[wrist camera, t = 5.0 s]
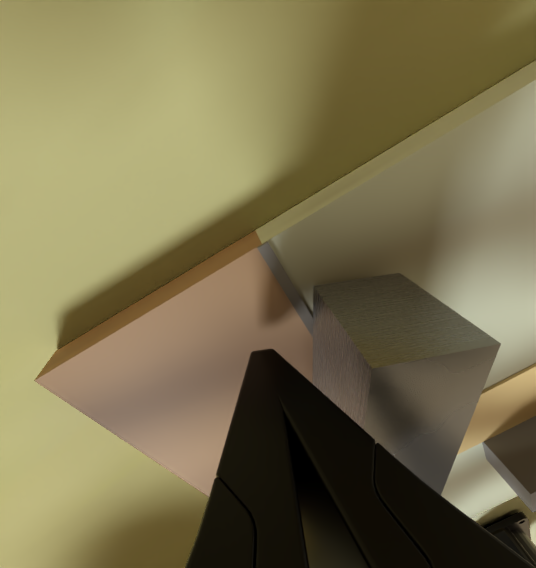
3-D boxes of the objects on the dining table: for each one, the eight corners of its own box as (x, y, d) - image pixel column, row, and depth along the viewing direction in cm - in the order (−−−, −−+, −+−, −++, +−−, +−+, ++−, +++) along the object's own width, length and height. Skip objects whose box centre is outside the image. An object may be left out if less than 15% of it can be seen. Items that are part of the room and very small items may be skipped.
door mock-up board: (577, 437, 18) (655, 500, 14) (329, 557, 19) (352, 638, 16) (612, 13, 7) (917, -82, 4) (55, 351, 9) (-31, 469, 5)
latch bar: (372, 512, 14) (421, 625, 10) (298, 531, 13) (327, 655, 10) (420, 269, 8) (568, 361, 4) (290, 288, 7) (354, 405, 4)
